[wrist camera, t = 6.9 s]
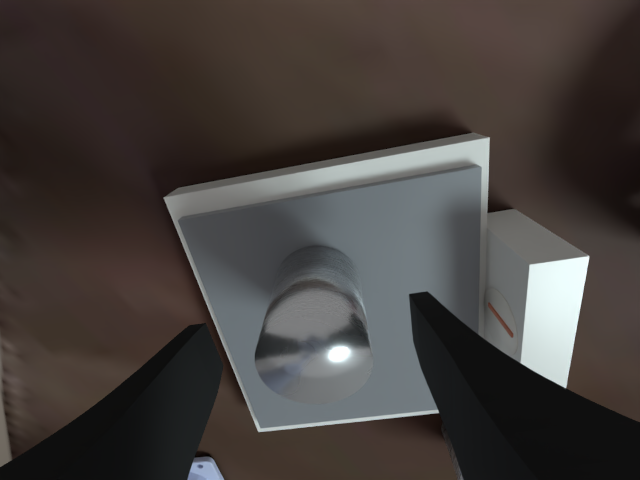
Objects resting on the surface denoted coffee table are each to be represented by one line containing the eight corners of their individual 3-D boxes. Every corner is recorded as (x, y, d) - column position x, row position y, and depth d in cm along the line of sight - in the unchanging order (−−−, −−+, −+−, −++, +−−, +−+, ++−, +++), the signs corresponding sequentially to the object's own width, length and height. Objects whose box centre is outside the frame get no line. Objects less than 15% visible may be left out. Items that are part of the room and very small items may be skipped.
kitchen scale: (263, 409, 22) (246, 491, 18) (178, 187, 16) (118, 227, 11) (503, 382, 21) (552, 464, 16) (519, 123, 14) (610, 139, 10)
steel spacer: (288, 322, 16) (273, 411, 12) (265, 254, 15) (238, 326, 10) (366, 309, 16) (381, 395, 11) (351, 237, 14) (362, 305, 10)
